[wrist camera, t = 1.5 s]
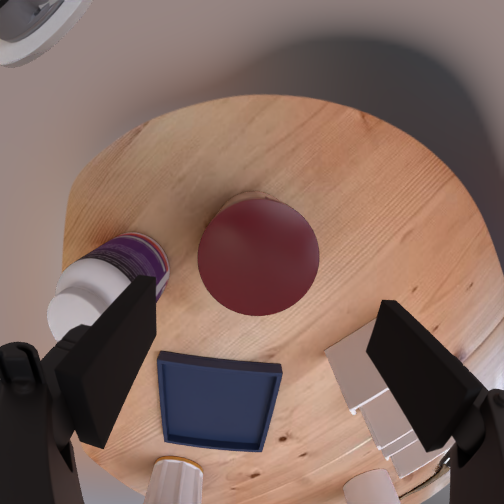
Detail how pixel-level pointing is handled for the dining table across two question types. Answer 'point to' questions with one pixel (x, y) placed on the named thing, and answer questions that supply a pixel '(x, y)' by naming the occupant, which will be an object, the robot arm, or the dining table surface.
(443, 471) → the tan bone
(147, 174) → the dining table surface
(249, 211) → the lid
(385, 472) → the tall pillar cylinder
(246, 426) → the tray
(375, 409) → the storage container
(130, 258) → the pill bottle
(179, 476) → the cup
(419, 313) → the dining table surface
